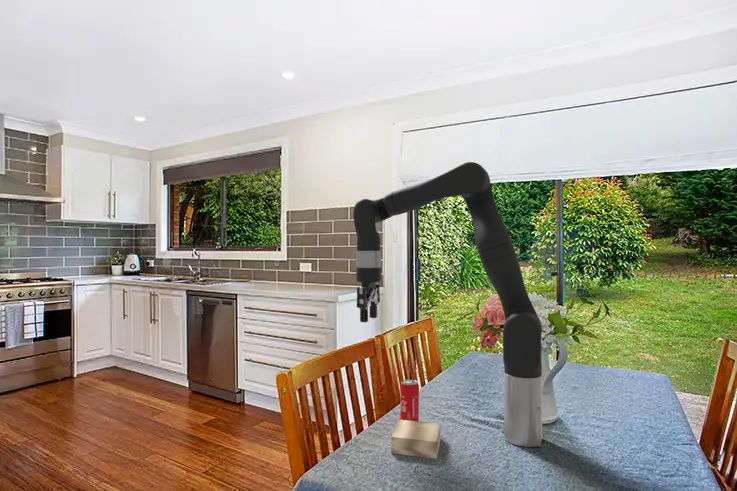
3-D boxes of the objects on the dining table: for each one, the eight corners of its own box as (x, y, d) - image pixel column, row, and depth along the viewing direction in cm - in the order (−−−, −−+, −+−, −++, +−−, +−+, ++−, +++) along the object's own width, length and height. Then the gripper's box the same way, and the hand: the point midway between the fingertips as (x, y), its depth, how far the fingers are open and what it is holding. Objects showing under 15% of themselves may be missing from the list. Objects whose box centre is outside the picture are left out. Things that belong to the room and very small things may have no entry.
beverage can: (417, 428, 121) (418, 385, 121) (399, 427, 122) (399, 384, 122) (419, 421, 126) (419, 379, 126) (401, 420, 127) (401, 378, 127)
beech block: (440, 439, 115) (440, 423, 115) (436, 458, 104) (436, 441, 104) (399, 434, 117) (399, 419, 117) (391, 453, 107) (391, 436, 107)
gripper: (373, 267, 124) (373, 324, 124) (387, 265, 138) (387, 317, 138) (348, 266, 127) (348, 323, 127) (364, 265, 140) (365, 315, 140)
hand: (368, 319), depth 132 cm, fingers open, 8 cm apart
